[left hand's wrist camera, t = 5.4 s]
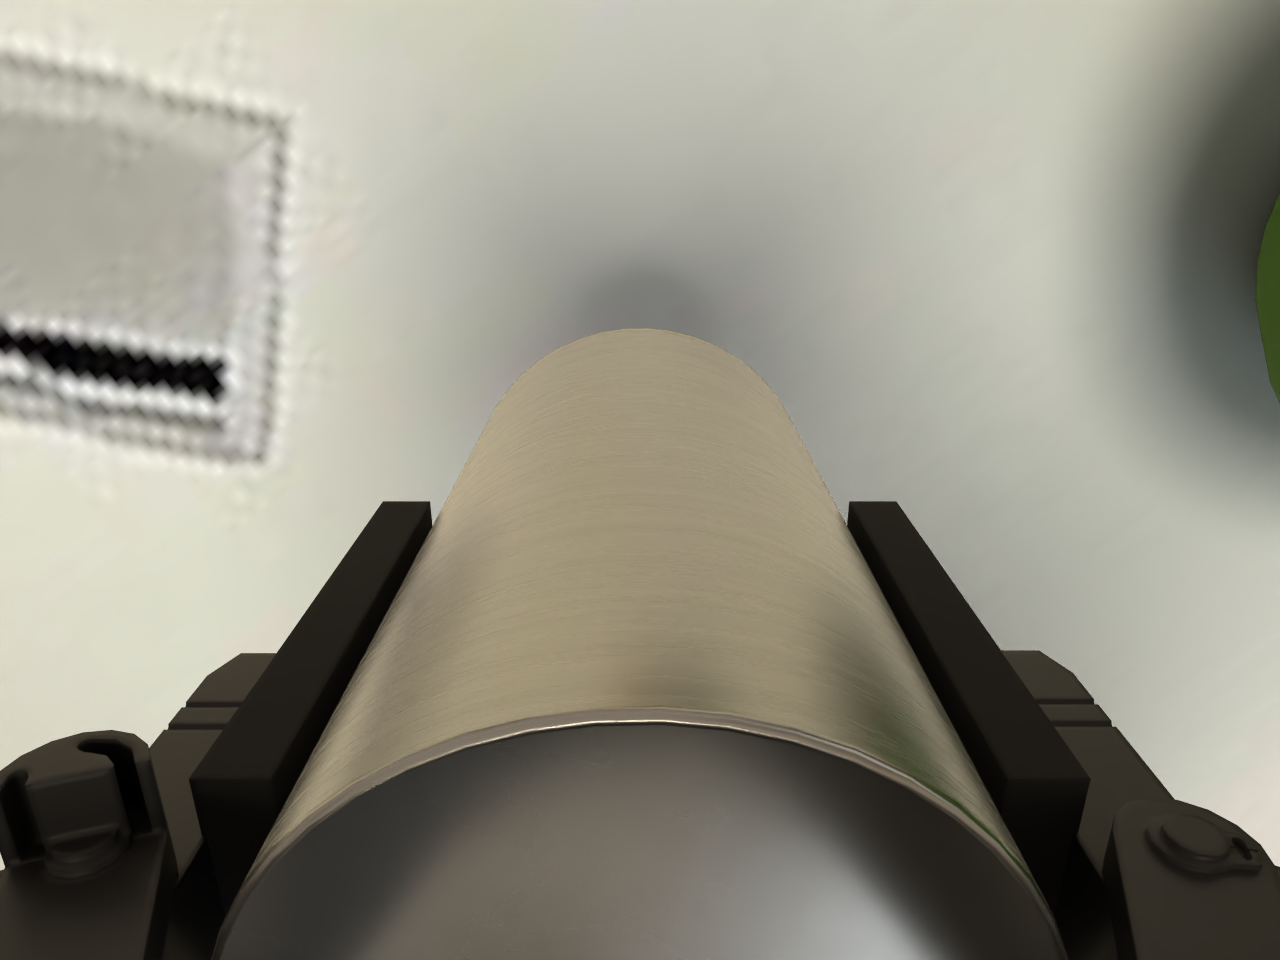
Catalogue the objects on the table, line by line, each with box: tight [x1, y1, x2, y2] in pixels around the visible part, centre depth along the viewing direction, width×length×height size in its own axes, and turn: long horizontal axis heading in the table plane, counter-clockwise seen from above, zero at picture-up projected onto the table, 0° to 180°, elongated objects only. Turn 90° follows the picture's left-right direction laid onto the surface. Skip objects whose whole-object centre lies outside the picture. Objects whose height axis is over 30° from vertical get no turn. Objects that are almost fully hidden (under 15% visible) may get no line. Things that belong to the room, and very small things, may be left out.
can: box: [211, 328, 1069, 960], centre depth 12 cm, size 7×7×12 cm
